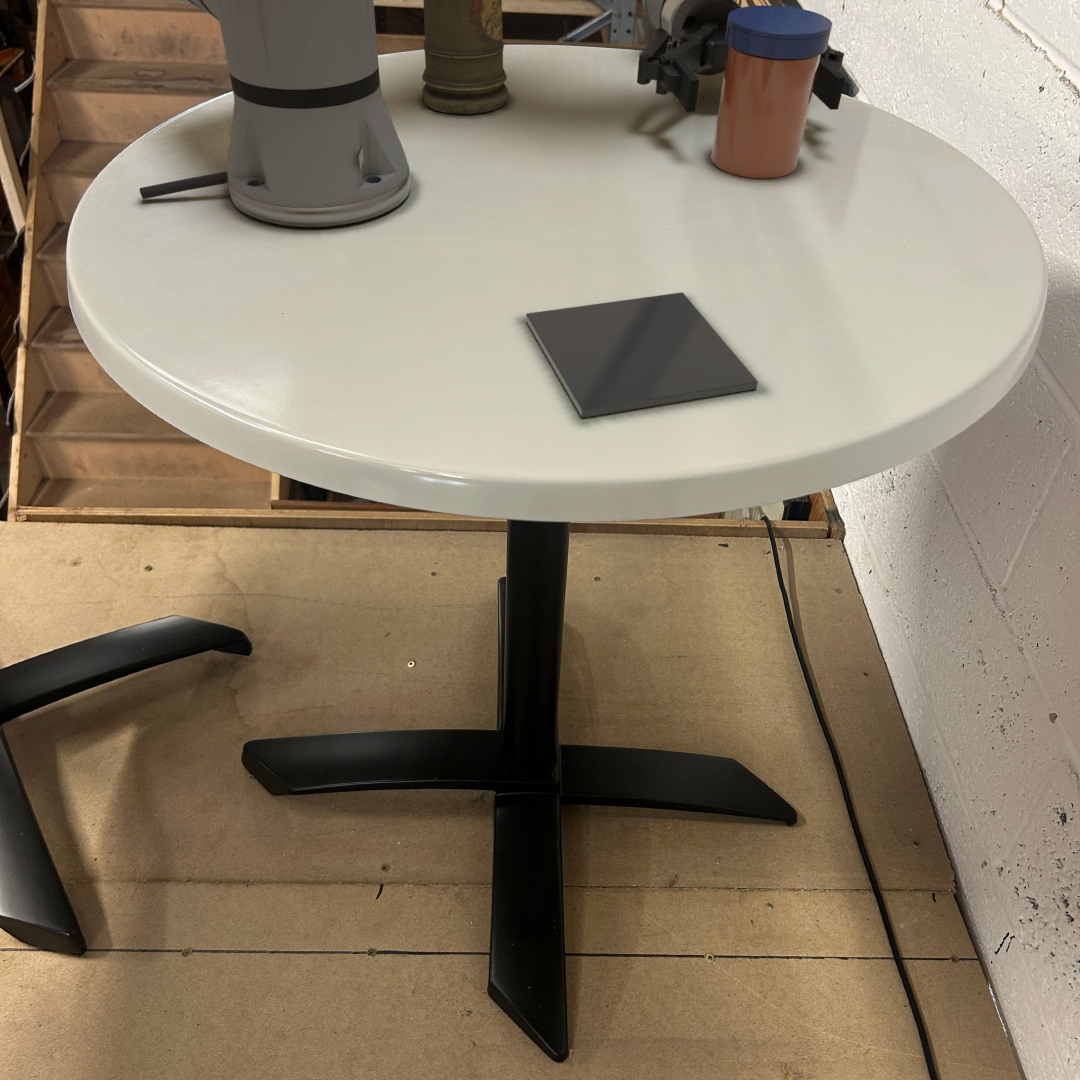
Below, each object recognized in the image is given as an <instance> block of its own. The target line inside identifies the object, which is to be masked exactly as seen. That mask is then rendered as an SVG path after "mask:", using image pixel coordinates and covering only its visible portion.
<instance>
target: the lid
mask: <svg viewBox="0 0 1080 1080" xmlns="http://www.w3.org/2000/svg"><path fill="white" fill-rule="evenodd" d="M832 28H833V22H832V20H831V19H829V18H828V17H827V16H825V15H823V14H820V13H818V12H816V11H812V10H808V9H805V8H798V7H793V6H783V5H765V4H764V5H763V4H762V5H749V6H743V7H741V8H738V9H735V10H733V11H731V12H730V13H729V15H728V21H727V27H726V34H725V42H726V43H727V44H728V45H729V46H730V47H732V48H734V49H736V50H738V51H741V52H744V53H747V54H751V55H756V56H761V57H768V58H777V59H801V58H809V57H814V56H818V55H820V54H822V53H824V52H825V51H826V49H827V46H829V41H830V36H831V32H832Z"/></svg>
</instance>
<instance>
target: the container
mask: <svg viewBox="0 0 1080 1080" xmlns="http://www.w3.org/2000/svg"><path fill="white" fill-rule="evenodd" d="M422 2H423V18H424V41H423V46H422V47H423V51H424V61H425V68H424V71H423V73H422V75H421V76H422V77H421V79H422V81H423V82H424V83H425V84H424V85H423V87H422V92H421V93H422V94H421V95H422V99H423V102H424V104H425V105H426V106H427V107H429V108H430V109H432V110H434V111H438V112H441V113H446V114H455V115H472V114H474V115H475V114H483V113H487V112H492V111H496V110H497V109H500V108H502V107H503V106H504V105H506V104H507V100H508V97H509V90H508V87H507V85H506V83H505V82H506V81H507V79H508V76H507V73H506V71H505V69H504V48H505V45H504V40H503V0H423V1H422Z"/></svg>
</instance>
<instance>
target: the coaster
mask: <svg viewBox="0 0 1080 1080" xmlns="http://www.w3.org/2000/svg"><path fill="white" fill-rule="evenodd" d="M525 322H526V323H527V325H528V327H529V328H530V330H531V332H532V334H533V335H534V337H535V339H536V341H537V343H538V345H539V346H540V348H541V349H542V352H543V353H544V355H545V356H546V358H547V360H548V362H549V363H550V365H551V367H552V369H553V370H554V372H555V374H556V375H557V376H558V379H559V381H560V382H561V384H562V386H563V388H564V389H565V391H566V393H567V395H568V397H569V398H570V400H571V402H572V403H573V405H574V407H575V409H576V410H577V412H578V414H579V415H580V417H581V418H582V419H584V418H591V417H597V416H602V415H607V414H608V415H609V414H616V413H620V412H627V411H632V410H639V409H645V408H651V407H657V406H661V405H667V404H674V403H681V402H687V401H692V400H698V399H705V398H710V397H717V396H722V395H728V394H735V393H741V392H747V391H752V390H757V389H758V384H759V381H758V380H757V378H756V377H755V376H754V375H753V373H751V371H750V370H749V369H748V367H746V365H745V364H744V363H743V362H742V361H741V359H740V358H739V357H738V356H737V355H736V354H735V352H734V351H733V350H732V349H731V347H730V346H729V345H728V344H727V343H726V341H724V339H723V338H722V337H721V336H720V335H719V333H718V332H717V331H716V330H715V328H713V326H712V325H711V324H710V323H709V322H708V320H707V319H706V317H704V316H703V314H701V312H700V311H699V310H698V308H697V307H696V306H695V305H694V304H693V303H692V302H691V300H690V299H689V297H687V295H686V294H685V293H684V292H681V291H680V292H675V293H668V294H667V293H666V294H659V295H652V296H647V297H646V296H644V297H638V298H630V299H624V300H616V301H609V302H601V303H600V302H599V303H593V304H587V305H578V306H572V307H564V308H556V309H550V310H541V311H536V312H535V311H534V312H528V313H527V312H526V313H525Z"/></svg>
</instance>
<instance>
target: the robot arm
mask: <svg viewBox="0 0 1080 1080" xmlns="http://www.w3.org/2000/svg"><path fill="white" fill-rule="evenodd" d="M187 1H188V3H190V4H191V5H193V6H194V7H196V8H198V9H200V10H203V11H205V12H206V13H207V14H209V15H210V16H212V18H215V19H216V20H218V22H219V27H220V32H221V38H222V42H223V47H224V52H225V57H226V63H227V67H228V72H229V77H230V83H231V89H232V93H233V94H232V95H233V111H232V120H231V129H230V137H229V144H228V145H229V146H228V156H227V162H226V163H227V164H226V171H222V172H216V173H211V174H205V175H199V176H194V177H189V178H183V179H179V180H173V181H167V182H163V183H159V184H158V183H157V184H153V185H148V186H143V187H139V194H140V196H141V198H142V199H143V200H146V199H151V198H156V197H161V196H165V195H171V194H174V193H181V192H187V191H192V190H196V189H197V190H198V189H203V188H208V187H214V186H218V185H225V184H227V186H228V191H229V195H230V199H231V201H232V203H233V205H234V206H235V207H236V208H237V209H238V210H240V211H241V212H242V213H244V214H245V215H247V216H248V217H251V218H254V219H256V220H260V221H262V222H266V223H270V224H275V225H281V226H287V227H296V228H297V227H298V228H301V227H302V228H321V227H334V226H342V225H348V224H353V223H355V224H356V223H359V222H363V221H366V220H367V221H368V220H369V219H373V218H376V217H379V216H381V215H383V214H385V213H388V212H389V211H391V210H393V209H394V208H396V207H398V206H399V205H400V204H401V203H402V202H404V201H405V199H406V198H407V197H408V195H409V193H410V190H411V176H410V175H411V174H410V166H409V162H408V158H407V156H406V153H405V151H404V147H403V145H402V143H401V140H400V138H399V135H398V133H397V129H396V128H395V125H394V122H393V119H392V117H391V114H390V112H389V110H388V107H387V104H386V102H385V100H384V97H383V93H382V88H381V80H380V79H381V78H380V76H381V75H380V69H379V67H380V66H379V53H378V40H377V29H376V15H375V5H374V3H375V2H374V0H187ZM641 1H642V5H643V9H644V11H645V13H646V17H647V18H648V21H649V23H650V25H651V26H652V28H653V29H654V32H653V38H652V40H651V41H650V42H649V43H648V44H647V45H646V46H645V47H644V48H643V50H641V52H640V53H639V56H638V67H637V76H636V84H639V85H642V86H645V85H649V84H650V82H651V81H656V85H655V94H657V95H660V96H666V95H668V93H673V95H674V96H675V98H676V99H677V101H678V102H679V104H680V105H681V106H682V108H683V109H684V111H685V112H686V113H695V112H696V107H697V100H698V93H699V85H700V79H699V78H698V77H697V76H696V75H699V76H703V77H704V76H705V77H710V76H716V75H719V74H721V73H724V70H725V64H726V57H727V51H728V44H727V43H726V42H725V34H726V27H727V21H728V15H729V13H730V12H731V11H733V10H735V9H738V8H742V7H741V5H740V4H739V3H738V2H737V1H736V0H641ZM844 56H845V53H844V52H842V51H840V50H837V49H834V48H832V46H831V45H828V46H827V49H826V51H825V52H824V53H822V54H821V56H820V60H819V65H818V70H817V74H816V79H815V83H814V88H813V92H812V94H813V95H815V96H816V98H817V99H819V100H820V101H821V102H822V104H824V105H825V106H826V107H827V108H828V109H829V110H833V111H834V110H835V111H837V110H839V107H840V103H841V99H842V94H843V91H844V87H845V82H846V77H845V76H844V75H843V74H842V73H841V70H842V65H843V61H844Z"/></svg>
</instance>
